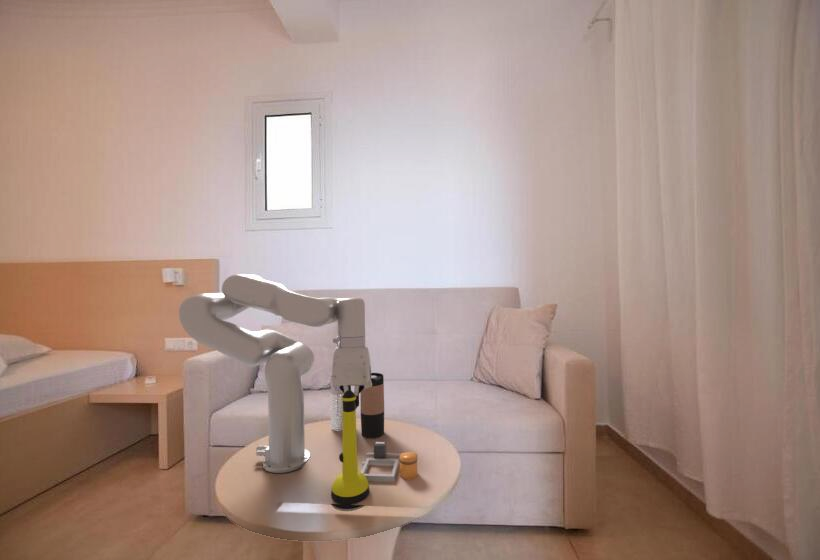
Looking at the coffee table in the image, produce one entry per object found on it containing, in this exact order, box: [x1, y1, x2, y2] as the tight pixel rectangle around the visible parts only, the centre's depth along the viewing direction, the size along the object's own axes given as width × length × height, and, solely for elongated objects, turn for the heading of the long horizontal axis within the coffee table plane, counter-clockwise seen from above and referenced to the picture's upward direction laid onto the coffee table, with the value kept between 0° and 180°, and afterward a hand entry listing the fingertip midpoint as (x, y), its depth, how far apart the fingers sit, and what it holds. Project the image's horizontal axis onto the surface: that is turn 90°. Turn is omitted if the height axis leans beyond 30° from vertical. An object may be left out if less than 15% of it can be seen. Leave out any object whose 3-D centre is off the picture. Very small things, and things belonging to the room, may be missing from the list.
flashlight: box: [330, 389, 370, 512], centre depth 82 cm, size 25×9×9 cm
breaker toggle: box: [373, 440, 388, 459], centre depth 97 cm, size 3×3×5 cm
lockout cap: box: [399, 451, 418, 481], centre depth 89 cm, size 4×4×6 cm
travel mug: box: [359, 372, 385, 440], centre depth 114 cm, size 8×8×20 cm
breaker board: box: [360, 452, 402, 483], centre depth 93 cm, size 14×14×3 cm
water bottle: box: [329, 365, 344, 432], centre depth 120 cm, size 7×7×25 cm
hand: (352, 408), depth 98 cm, fingers closed
